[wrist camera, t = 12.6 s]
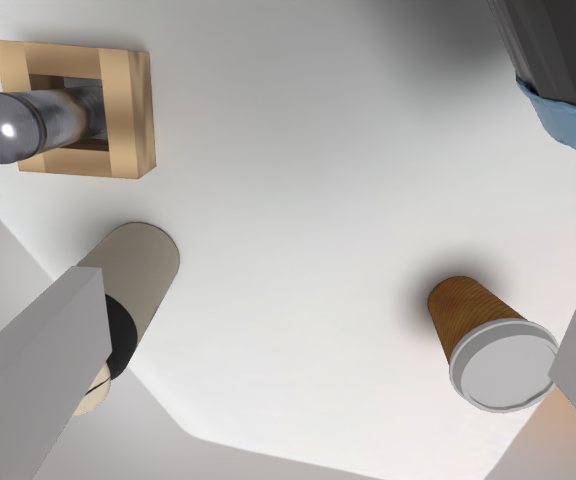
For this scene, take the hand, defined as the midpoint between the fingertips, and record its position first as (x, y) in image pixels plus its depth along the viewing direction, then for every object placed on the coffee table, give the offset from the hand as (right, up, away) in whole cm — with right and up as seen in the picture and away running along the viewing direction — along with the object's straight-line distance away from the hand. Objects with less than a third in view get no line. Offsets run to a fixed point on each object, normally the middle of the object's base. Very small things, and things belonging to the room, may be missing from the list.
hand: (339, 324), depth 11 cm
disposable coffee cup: (+18, -4, +33) cm, 38 cm away
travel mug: (-17, +1, +31) cm, 35 cm away
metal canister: (-19, +14, +25) cm, 34 cm away
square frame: (-19, +14, +25) cm, 34 cm away
